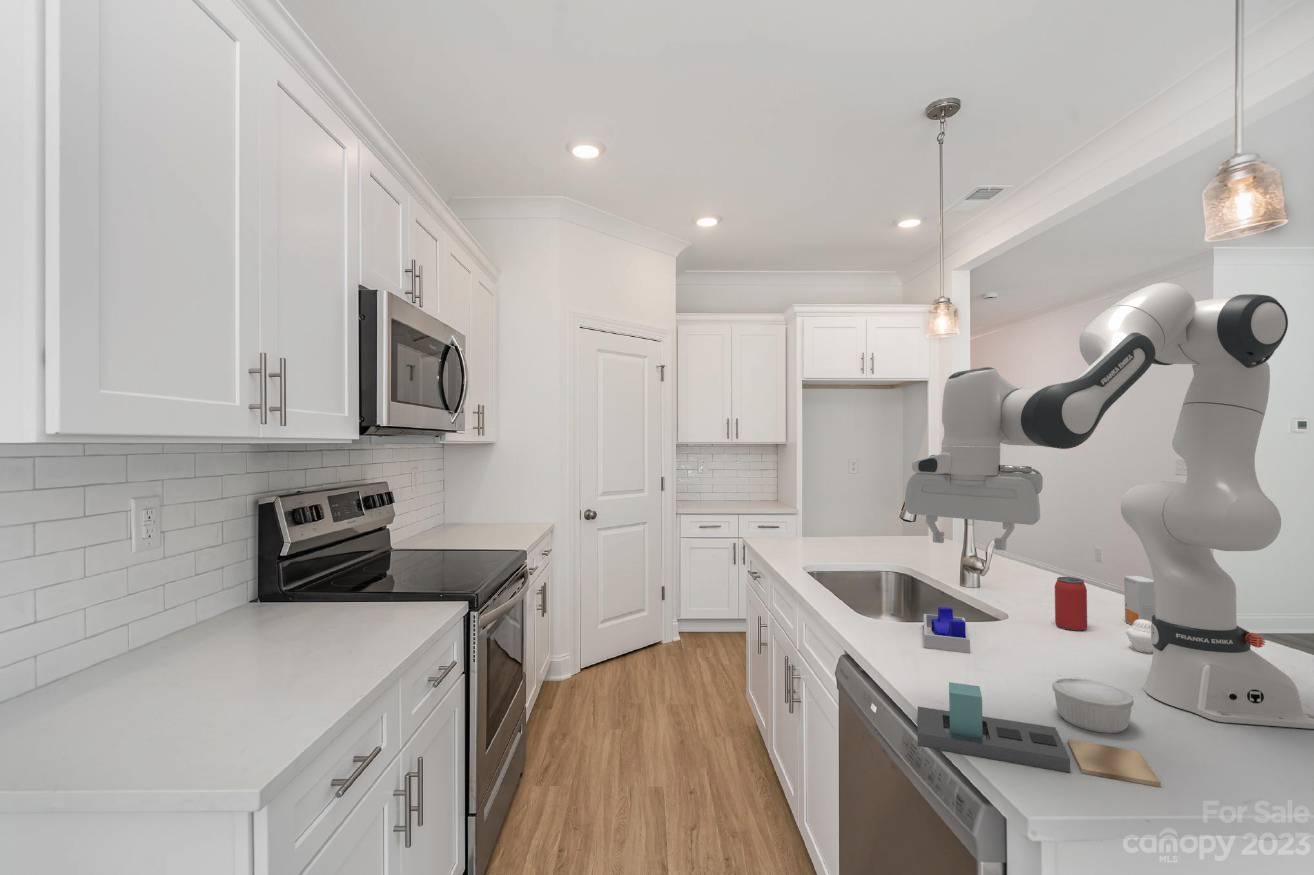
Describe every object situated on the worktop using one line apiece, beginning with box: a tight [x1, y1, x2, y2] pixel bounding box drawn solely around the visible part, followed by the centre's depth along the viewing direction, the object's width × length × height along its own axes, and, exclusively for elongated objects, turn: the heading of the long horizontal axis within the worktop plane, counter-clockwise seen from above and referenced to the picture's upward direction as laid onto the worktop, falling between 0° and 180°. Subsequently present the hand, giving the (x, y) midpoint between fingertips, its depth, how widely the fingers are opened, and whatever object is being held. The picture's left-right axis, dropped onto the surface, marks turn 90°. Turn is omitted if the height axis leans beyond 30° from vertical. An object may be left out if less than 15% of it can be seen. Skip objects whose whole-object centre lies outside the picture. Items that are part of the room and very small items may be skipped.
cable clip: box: [931, 606, 966, 638], centre depth 143 cm, size 12×4×6 cm, turn 168°
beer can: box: [1054, 576, 1088, 632], centre depth 150 cm, size 7×7×12 cm
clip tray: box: [923, 613, 971, 654], centre depth 143 cm, size 9×17×3 cm, turn 156°
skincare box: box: [1123, 575, 1155, 626], centre depth 150 cm, size 6×4×12 cm
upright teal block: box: [948, 681, 984, 739], centre depth 96 cm, size 4×4×8 cm
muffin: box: [1125, 619, 1154, 654], centre depth 133 cm, size 6×6×7 cm
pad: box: [1066, 739, 1162, 788], centre depth 88 cm, size 9×9×1 cm
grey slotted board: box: [917, 706, 1071, 774], centre depth 94 cm, size 20×10×2 cm, turn 67°
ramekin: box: [1051, 677, 1135, 734], centre depth 101 cm, size 11×11×5 cm
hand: (968, 545), depth 101 cm, fingers open, 8 cm apart
